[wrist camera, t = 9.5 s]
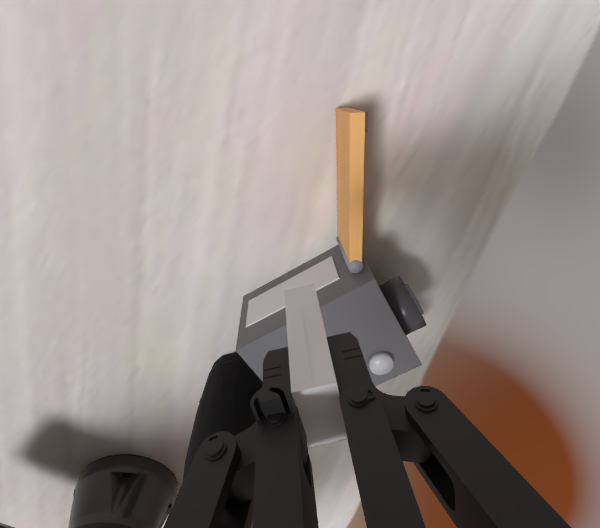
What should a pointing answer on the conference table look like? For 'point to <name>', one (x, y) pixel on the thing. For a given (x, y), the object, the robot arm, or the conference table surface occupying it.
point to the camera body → (337, 315)
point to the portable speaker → (224, 402)
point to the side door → (350, 183)
